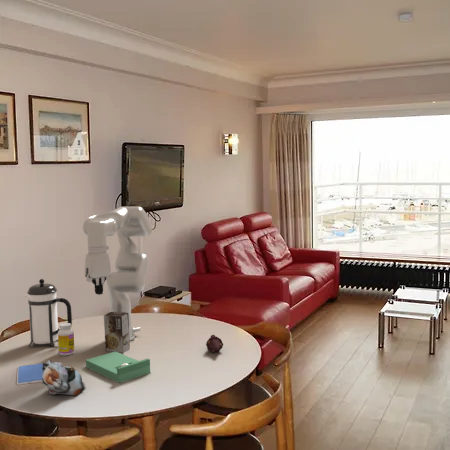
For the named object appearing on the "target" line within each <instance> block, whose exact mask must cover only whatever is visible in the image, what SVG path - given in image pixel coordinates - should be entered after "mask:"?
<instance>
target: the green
mask: <svg viewBox="0 0 450 450" xmlns="http://www.w3.org/2000/svg"><path fill="white" fill-rule="evenodd" d="M150 360H151V359H149V358H144V359H141V360H137V359H136V358H133V357H130V356H128V355H125V354H122V353H121V352H116V351H115V352H112V351H111V352H108V353H104V354H101V355H98V356H95V357H94V356H93V357H91V358H87V359H85V368H87V369H88V370H91V371H93V372H95V373H97V374H99V375H102V376H103V377H106V378H108V379H110V380H113V381H115V382H117V383H119V384H121V383H124V382H126V381H130V380H133V379H135V378H136V379H137V378H140V377H142V376H145V375H148V374H151V361H150ZM124 363H127V364H128V365H125V366H121V365H122V364H124Z"/></svg>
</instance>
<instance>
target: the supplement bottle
mask: <svg viewBox="0 0 450 450" xmlns="http://www.w3.org/2000/svg"><path fill="white" fill-rule="evenodd" d="M59 329H60V330H59V331H58V339H57V342H58V343H57V344H58V345H57V346H58V347H57V348H58V354H59V355H60V356H71V355H73V354H74V353H75V331H74V330H73V329H72V326H71V323H68V322H64V323H63V322H62V323H60V324H59Z"/></svg>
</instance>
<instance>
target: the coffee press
mask: <svg viewBox="0 0 450 450" xmlns="http://www.w3.org/2000/svg"><path fill="white" fill-rule="evenodd" d="M57 292H58V288H57V287H56V286H55V285H54V284H53V283H46V282H45V280H44V278H40V279H39V281H38V283H36V284H33V285H31V286H29V287H28V290H27V292H26V294H25V298H28V299H27V302H28V303H27V304H28V312H29V314H28V315H29V329H30V330H29V332H30V342H29V344H28V347H29V348H31V349H32V348H34V346H35V345H46V344H48V345H49V346H50V348H53V347H55V342H56V341H58V331H59V330H60V327H59V322H58V321H59V319H58V303H63V304H65V307H66V315H67V323H71V327H72V326H73V318H72V317H73V314H72V305H71V302H70V301H69V300H68V299H66V298H62V297H59V298H58V297H57Z"/></svg>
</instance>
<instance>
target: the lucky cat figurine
mask: <svg viewBox="0 0 450 450" xmlns="http://www.w3.org/2000/svg"><path fill="white" fill-rule="evenodd" d="M42 363H43V367H42V369H43V374H42V381H43V382H42V384H43V385H44V387H46V388H47V389H48V392H49V395H56V394H58V395H66V396H67V395H68V396H79V395H80V394H82V393H83V391H85V390H86V389H87V388H86V387H87V386H86V382H84V381H83V379H82V376H81V373H80V372H79V371H78V370H77V369H75V368H74V367H73V366H72V365H71V366H64V365H63V363H62V362H60V361H59V362H58V361H57V362H56V361H55V362H52V360H46V362H42Z"/></svg>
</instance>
